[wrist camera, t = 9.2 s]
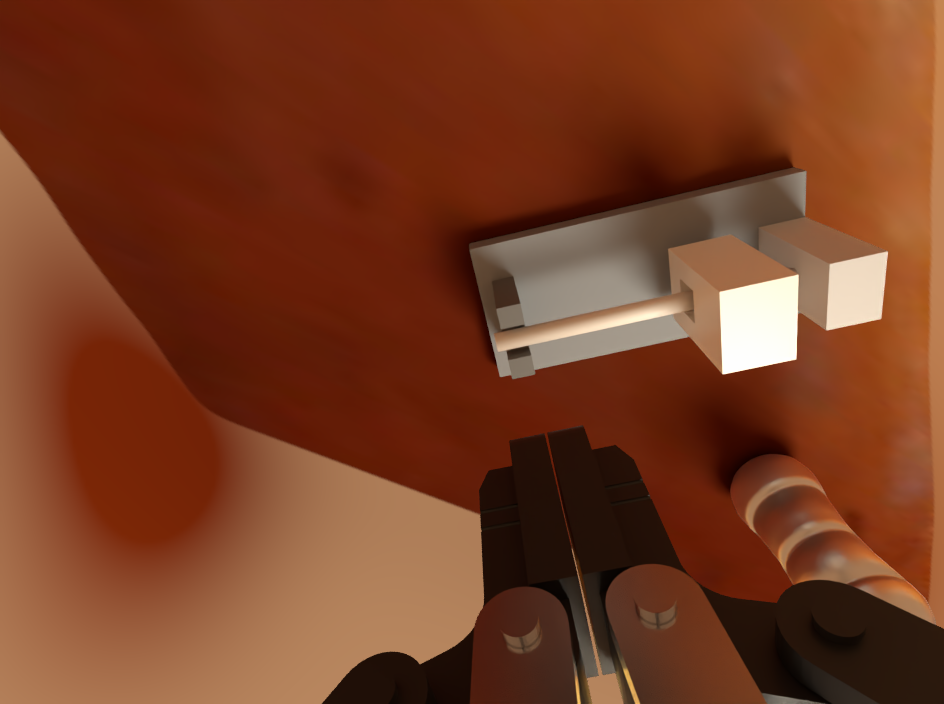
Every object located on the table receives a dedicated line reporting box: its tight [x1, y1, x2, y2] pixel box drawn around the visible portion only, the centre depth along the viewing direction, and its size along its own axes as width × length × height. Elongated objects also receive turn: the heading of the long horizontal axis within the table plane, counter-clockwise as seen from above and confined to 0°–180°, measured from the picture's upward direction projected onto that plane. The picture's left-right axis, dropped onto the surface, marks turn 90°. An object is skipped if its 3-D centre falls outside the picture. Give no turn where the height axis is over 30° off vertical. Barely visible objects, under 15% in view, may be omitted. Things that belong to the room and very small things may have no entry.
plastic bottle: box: [730, 454, 936, 625], centre depth 39 cm, size 6×7×20 cm
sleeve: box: [668, 235, 799, 374], centre depth 34 cm, size 5×4×8 cm
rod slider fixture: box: [469, 167, 888, 379], centre depth 36 cm, size 10×22×10 cm, turn 103°
